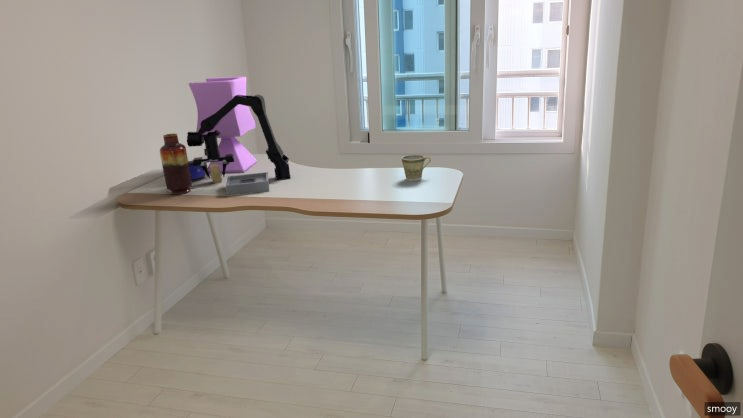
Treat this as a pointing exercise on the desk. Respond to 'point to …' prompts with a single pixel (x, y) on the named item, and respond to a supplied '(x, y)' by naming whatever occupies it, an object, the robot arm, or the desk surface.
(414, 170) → the ceramic cup
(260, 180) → the grey socket tray
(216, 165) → the connector plug
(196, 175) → the blue screen device
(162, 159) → the vase
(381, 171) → the desk surface
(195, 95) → the lavender hourglass shape
